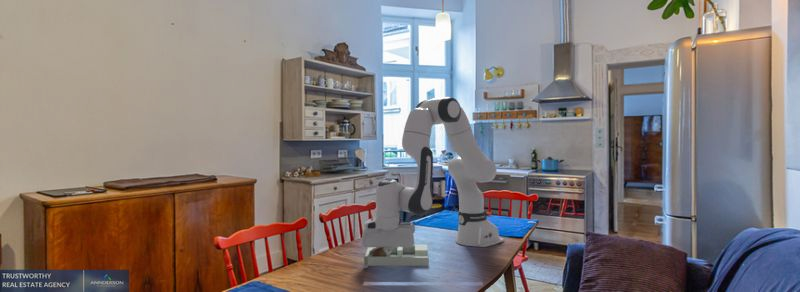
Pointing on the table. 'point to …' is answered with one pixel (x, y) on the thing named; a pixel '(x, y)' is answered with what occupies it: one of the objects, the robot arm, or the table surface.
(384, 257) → the tray
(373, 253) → the block
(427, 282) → the table surface
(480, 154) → the robot arm
